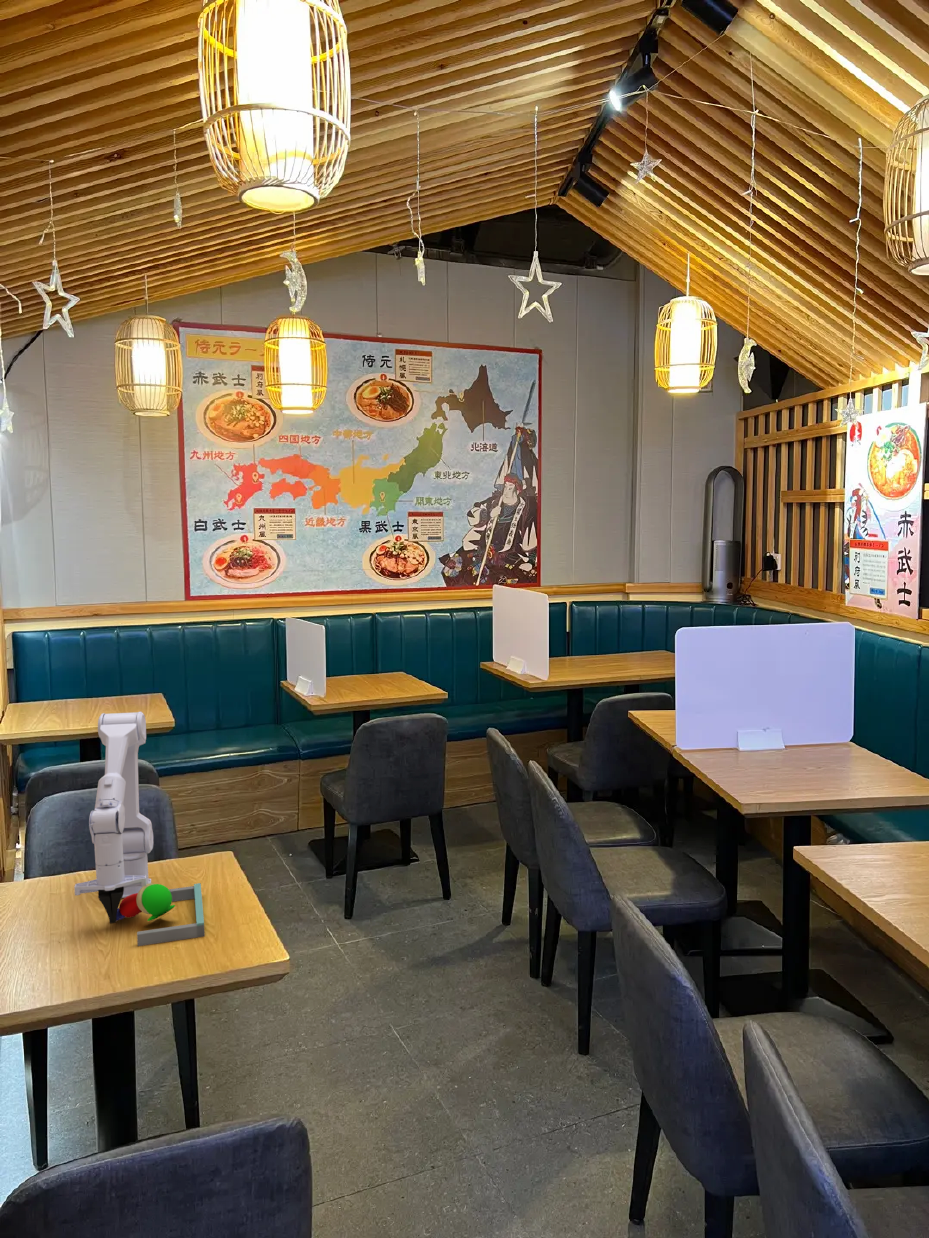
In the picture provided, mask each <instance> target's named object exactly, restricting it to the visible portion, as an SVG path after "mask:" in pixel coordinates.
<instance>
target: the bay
mask: <svg viewBox="0 0 929 1238" xmlns="http://www.w3.org/2000/svg"><path fill="white" fill-rule="evenodd" d="M168 889H169V891H170V892H171V895H172V903H174V902H179V901H180V902H181V901H187V900H194V907H195V908H194V909H195V920H196V922H195V923H189V924H182V925H174V926H169V927H167V926H166V927H161V928H160V927H159V928H153V929H148V930H141V931H137V932H136V939H137V941H136V942H137V947H142V946H149V945H157V944H161V943H169V942H175V941H180V940H181V941H182V940H188V939H189V940H190V939H194V938H195V939H196V938H201V937H205V935H206V934H205V920H204V919H205V918H204V916H205V915H204V907H203V906H204V905H203V895H202V885H201V883H199V882H198V883H194V884H193V885H191V886H183V887H175V888H168Z"/></svg>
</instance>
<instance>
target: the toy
mask: <svg viewBox="0 0 929 1238" xmlns="http://www.w3.org/2000/svg"><path fill="white" fill-rule="evenodd" d="M169 889H170V888H168V887H167V886H166V885H164V884H159V883H153V882H151V883H149V884H146V886H143V887H142V888H141V889H140V890H139V892H138V893H135V894H132V895H129V896H127V897H125V898H122V899H121V901H120V903H119V906H118V910H117V916H116V922H117V921H119V920H123V919H126V918H133V917H136V916H138V915H139V914H141V913H143V914H145V915H146V914H147V915H151V916H150V917H148V919H147V922H152V921H154V922H155V921H158V920H159V918H161V917H164V916H166V915H168V913H170V911H171V910H173V909H174V907H176V905H175V904H172V903H173V902H172V895H171V892H170V891H169ZM176 910H177V908H175V909H174V911H176ZM145 926H146V927H147V926H148V924H147V925H145Z"/></svg>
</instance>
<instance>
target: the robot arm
mask: <svg viewBox="0 0 929 1238" xmlns="http://www.w3.org/2000/svg"><path fill="white" fill-rule="evenodd" d="M97 732H98V733H97V734H98V736H99V739H100V740H101V743H102V745H104V746H105V758H104V760H105V764H104V775H103V776H101V778H100V779H99V780H98V781H97V782H98V783H97V788H96V789H97V791H96V795H95V797H96V798H95V804H94V810H91V811H90V814H89V820H88V824H89V825H88V828H89V833H90V837H91V842H92V844H94V845H93V846H94V860H95V861H94V862H95V875H96V877H95V879H91V880H88V881H83V882H78V883H75V884H74V887H73V888H74V896H80V895H81V894H87V893H96V892H97V893H98V895H97V898H98V900H99V901H100V903H101V904H102V906H103V907H104V910H105V912H106V914H107V917H108V920H109V924H116V923H117V921H116V916H117V910H118V908H119V905H120V903H121V901H122V899H124V898H125V897H127V896H129V895H132V894H135V893H138V892H139V890H140V889H141V888H142V887H143V886H146V884H149V883H152V878H149V863H148V854H150V853H151V851H153V849H154V832H153V831H154V830H153V824H152V821H151V819H149V818H148V817H146V816H145V815H143V814H141V812H140V795H139V792H140V791H139V754H138V753H139V750H140V749H139V747H140V746H142V745H144V744H146V742H147V741H146V740H147V722H146V716H145V714H144V713H143V711H138V712H137V711H136V712H115V713H114V712H113V713H105V712H103V713H101V714H100V715H99V717H98V720H97Z"/></svg>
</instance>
